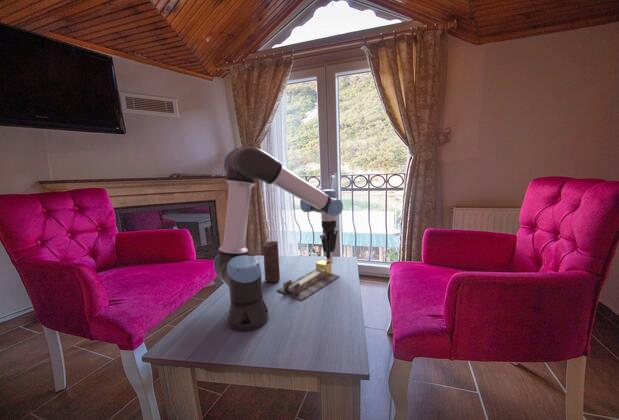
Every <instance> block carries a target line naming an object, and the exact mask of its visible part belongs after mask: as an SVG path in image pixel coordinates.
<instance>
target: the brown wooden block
mask: <svg viewBox="0 0 619 420" xmlns="http://www.w3.org/2000/svg"><path fill="white" fill-rule="evenodd" d="M278 244H279V243H278V241H276V240H275V241H273V240H271V241H265V242H264V243H263V245H262V247H263V249H262V250H263V260H264V261H263V266H264V280H265V282H267V283H275V282H278V281H280V279H281V278H280V277H281V273H280V262H279V261H280V259H279V245H278Z"/></svg>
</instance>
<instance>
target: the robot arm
mask: <svg viewBox="0 0 619 420" xmlns="http://www.w3.org/2000/svg"><path fill="white" fill-rule="evenodd" d="M223 167H224V171H225V173H226V174H225V182H226V183H227V185H228V193H227V194H228V195H227V204H226V213H225V221H224V222H225V224H224V233H223V243H222V244H221V246H219V247H218V252H217V255H216V256H215V257H214V259H213V260H214V261H213V269H214V272H215V274H216V275H217V277H218V278H219V279H221V281H223V282H224V283H225V284H226V285H227V287H228V289H229V290H228V291H229V298H230V299H229V300H230V305H229V307H228V314H227V315H226V317H227V318H226V319H227V321H226V322H227V326H228V327H229V328H230V330H233V331H236V332H250V331H253V330H257V329H259V328H261V327H263V326H264V325H265V324H266V323H267V322H268V320H269V318H270V317H269V309H268V307H267V304H266V302H265V300H264V297H263V284H262V283H263V282H262V268H261V263H260V261H259V259H257V257H255V256H253V255H249V249H248V248H247V247H246V240H247V239H246V238H247V227H248V221H249V220H248V219H249V211H250V204H251V203H250V200H251V193H252V188H253V187H254V186H256V180H258V181H260V182H264V183H265V184H267V185H275V186H276V187H278V188H280V189H282V190H283V191H285V192H287V193H289V194H290V195H292V196H294V197H295V198H297V199H299V200H300V201H299V206H300V209H301V211H303V213H311V212H314V213H317V214H318V213H319V214H321V216H320V217H321V228H322V229H323V230H322V234H321V235H319V237H320V240H321V244H322V251H323V252H324V253H326V261H328V262H331V265H333V258H334V257H333V256H334V255H333V253H334V252H335V251H336V244H337V236H338V232H339V231H338V230H336V227H337V217H338V216H339V215H340V214H341V213H342V212H343V210H344V204H343V202H342V200H341V199H339V198H337V194H336V190H335V189H331V188H330V189H328V188H327V189H318V188H317V187H315V186H314V185H313V184H311V183H309V182H308V181H306V180H305V179H303V178H301V177H300V176H298V175H297V174H295V173H293V172H292V171H290V170H289V169H287V168H286V167H284V165H283V163H282V162H281V161H280V160H278V159H277V158H275V157H273V156H272V155H271V154H269V153H268V152H266V151H264V150H262V149H260V148H258V147H254V146H247V147H238V148H234V149H233V150H230V151H229V152H227V154H225V157H224V160H223Z"/></svg>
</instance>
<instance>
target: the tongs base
mask: <svg viewBox="0 0 619 420" xmlns="http://www.w3.org/2000/svg"><path fill="white" fill-rule="evenodd" d="M315 271H316V268H315V269H314V270H312V271H310V272H307V274H304V275H302V276H301V277H299V278H296V279H295V280H291V279H289V280H287V281H285V282H283V286H282V287H280V288H278V289H276V291H277V292H278V293H281V294H284V295H286V296H288V297H291V298H294V299H296V300H298V301H301V302H302V301H304V300H306V299H307V298H309V297H311V296H312V295H313V294H315V293H317V292H319V290H322V289H323V288H324V287H326V286H327V285H329V284H330V283H333V282H334V281H335V280H337V279H338V277H339V278H340V275H338V274H335V273H332V274H331V275H329V276H327V277H324V272H322V273H321V274H320V275H319V276H317V277H316V278H314V279H312V280H311V281H309V282H308V283H306V284H305V285H303V286H301V287H300V283H297V282H298V281H300V280H302V279H303V278H305V277H307V276H308V275H310V274H312V273H313V272H315ZM295 283H297V284H295ZM293 284H295V285H293ZM292 285H293V286H292ZM288 286H292V291H289V290H288V289H287V288H288Z"/></svg>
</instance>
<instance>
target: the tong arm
mask: <svg viewBox="0 0 619 420" xmlns="http://www.w3.org/2000/svg"><path fill="white" fill-rule="evenodd" d="M320 274H321V272H320V271H315V272H313V273H312V274H310V275H308V276H307V277H305V278H303V279H302V280H300V281H298V282H297V283H300V287H301V286H303V285H305V284H306V283H308V282H309V281H311V280H312V279H314V278H316V277H317V276H319V275H320ZM297 283H295V284H297ZM295 284H293V285H295ZM293 285H292V286H293ZM292 286H288V288H287V289H288V290H289V291H292Z"/></svg>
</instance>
